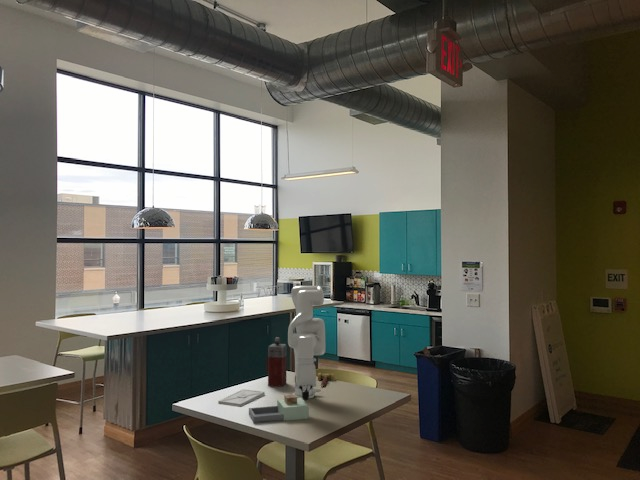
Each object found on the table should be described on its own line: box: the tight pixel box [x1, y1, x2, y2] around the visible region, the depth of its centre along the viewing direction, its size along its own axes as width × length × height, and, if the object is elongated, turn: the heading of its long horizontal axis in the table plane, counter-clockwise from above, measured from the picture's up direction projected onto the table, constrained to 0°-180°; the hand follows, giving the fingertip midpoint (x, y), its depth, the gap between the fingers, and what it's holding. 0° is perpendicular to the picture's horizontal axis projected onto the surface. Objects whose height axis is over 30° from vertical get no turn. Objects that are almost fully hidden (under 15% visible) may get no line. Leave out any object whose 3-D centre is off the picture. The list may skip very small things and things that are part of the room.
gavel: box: [317, 372, 335, 388], centre depth 312 cm, size 21×5×10 cm
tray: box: [248, 405, 285, 424], centre depth 245 cm, size 14×14×3 cm
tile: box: [283, 394, 297, 404], centre depth 249 cm, size 5×5×3 cm
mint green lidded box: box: [276, 398, 310, 422], centre depth 249 cm, size 12×14×6 cm
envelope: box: [217, 388, 265, 407], centre depth 277 cm, size 24×2×14 cm
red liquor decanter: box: [265, 336, 288, 388], centre depth 309 cm, size 9×11×28 cm
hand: (305, 399), depth 251 cm, fingers closed
